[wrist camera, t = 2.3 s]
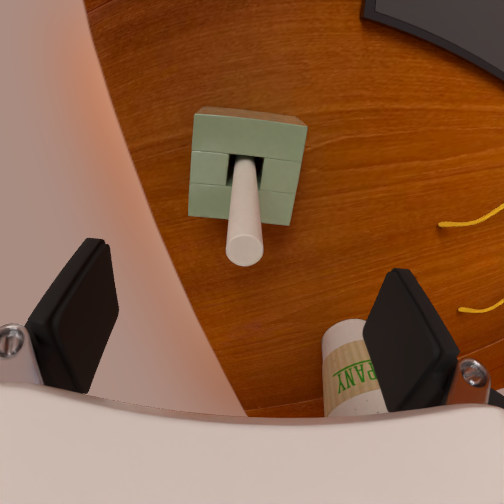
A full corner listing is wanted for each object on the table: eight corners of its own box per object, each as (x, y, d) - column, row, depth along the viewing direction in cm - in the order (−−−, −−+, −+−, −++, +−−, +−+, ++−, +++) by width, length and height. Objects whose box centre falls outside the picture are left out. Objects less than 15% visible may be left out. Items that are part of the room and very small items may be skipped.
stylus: (236, 144, 23) (227, 232, 11) (255, 146, 23) (266, 236, 12) (234, 162, 24) (224, 265, 12) (252, 164, 24) (260, 268, 12)
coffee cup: (402, 324, 34) (448, 431, 21) (347, 371, 38) (372, 473, 26) (345, 293, 31) (389, 424, 19) (288, 350, 36) (303, 470, 23)
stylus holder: (203, 106, 22) (194, 113, 18) (297, 116, 22) (308, 126, 18) (196, 191, 25) (188, 216, 21) (282, 200, 26) (289, 226, 22)
